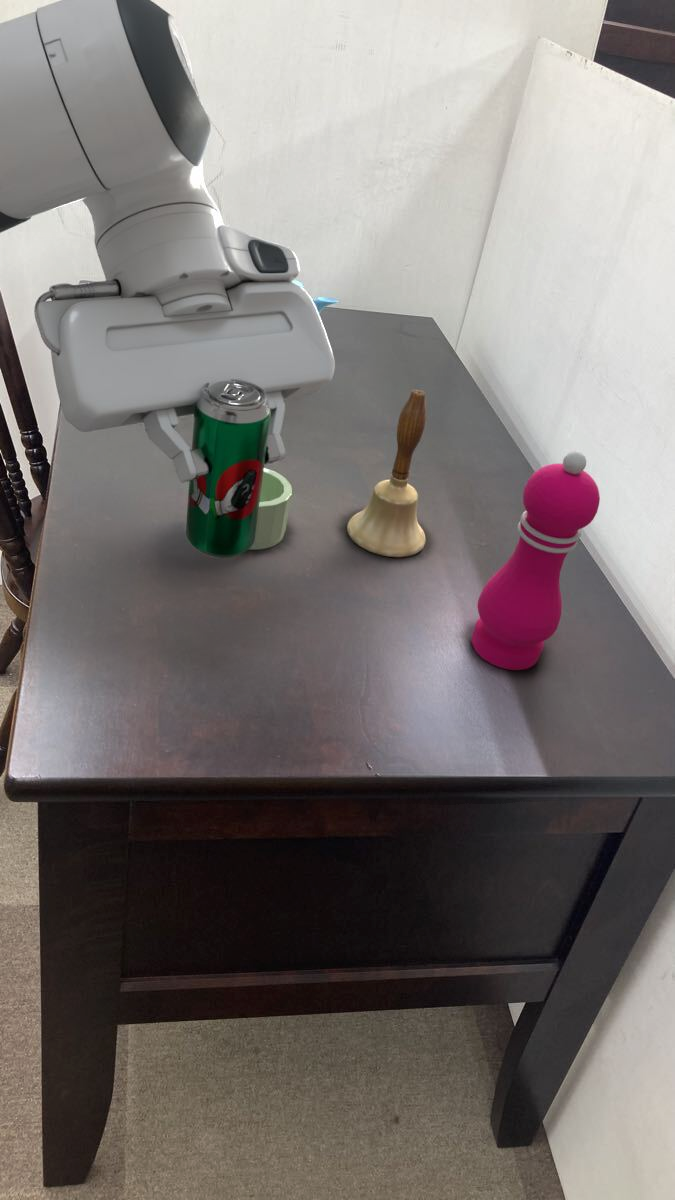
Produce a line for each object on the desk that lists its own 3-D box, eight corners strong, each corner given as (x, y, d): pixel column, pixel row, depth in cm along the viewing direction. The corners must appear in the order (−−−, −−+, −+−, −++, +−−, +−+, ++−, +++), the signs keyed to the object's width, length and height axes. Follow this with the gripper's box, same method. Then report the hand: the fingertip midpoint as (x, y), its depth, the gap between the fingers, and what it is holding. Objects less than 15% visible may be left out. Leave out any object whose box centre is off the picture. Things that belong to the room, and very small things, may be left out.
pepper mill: (550, 680, 78) (634, 483, 66) (470, 668, 78) (541, 467, 66) (536, 628, 84) (612, 439, 72) (461, 617, 83) (525, 424, 72)
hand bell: (356, 556, 88) (390, 409, 79) (339, 511, 95) (369, 370, 85) (434, 559, 91) (476, 416, 81) (413, 514, 97) (450, 377, 87)
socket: (224, 554, 85) (230, 509, 82) (197, 511, 90) (202, 467, 87) (296, 544, 88) (304, 501, 85) (267, 504, 93) (273, 462, 90)
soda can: (264, 535, 68) (284, 389, 60) (236, 569, 64) (254, 417, 56) (204, 515, 68) (216, 368, 61) (172, 547, 64) (182, 394, 57)
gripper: (39, 262, 53) (112, 486, 53) (313, 249, 64) (372, 433, 65) (12, 308, 58) (79, 512, 58) (270, 288, 70) (325, 458, 70)
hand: (235, 470), depth 61 cm, fingers closed on soda can, 5 cm apart
